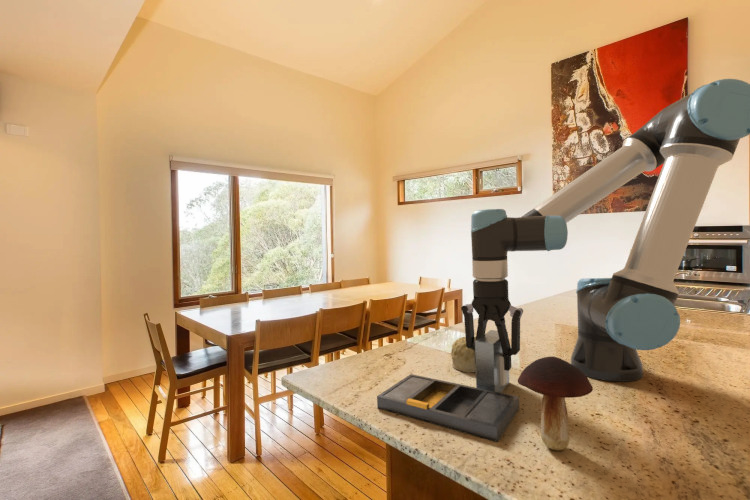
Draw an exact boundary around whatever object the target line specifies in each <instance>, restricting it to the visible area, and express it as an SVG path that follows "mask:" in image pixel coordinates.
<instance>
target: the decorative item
mask: <svg viewBox="0 0 750 500" xmlns="http://www.w3.org/2000/svg"><path fill="white" fill-rule="evenodd" d="M474 337H475V339H476V336H474ZM450 351H451V352H450V356H451V360H452V367H453V368H454V369H455V370H458V371H460V372H464V373H476V364H475V352H474V350H472V349H471V348H467V347H466V336H463V337H459V338H458V339H456V340H455V341H454V342H453V344H452V345H451V350H450Z"/></svg>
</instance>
